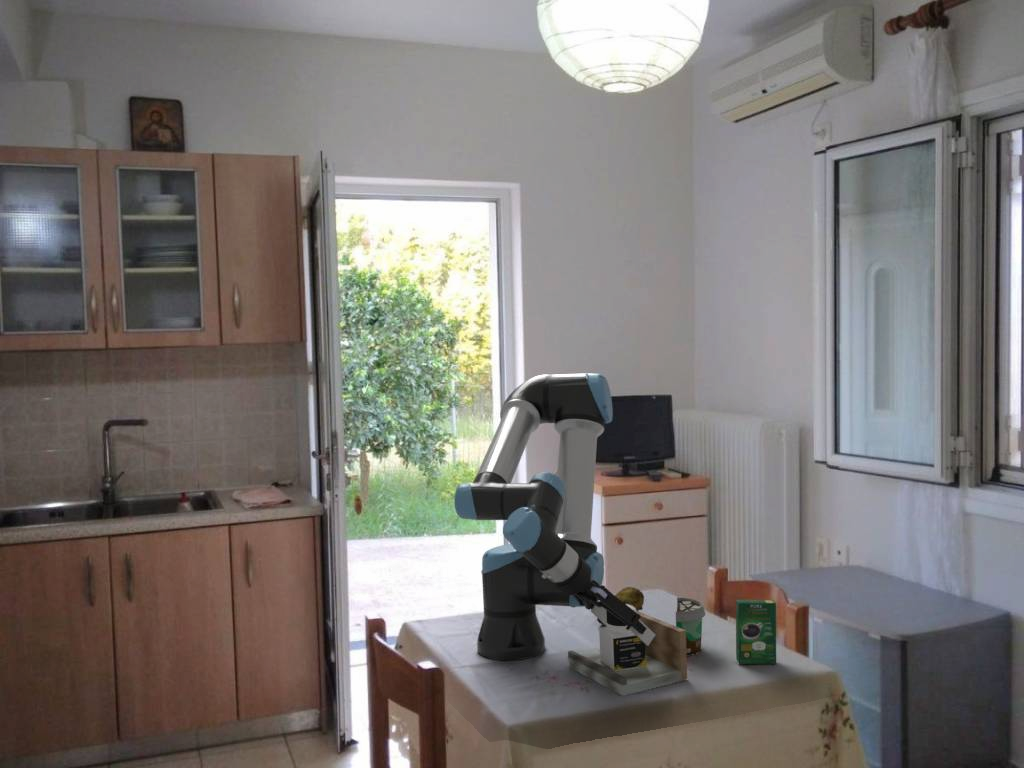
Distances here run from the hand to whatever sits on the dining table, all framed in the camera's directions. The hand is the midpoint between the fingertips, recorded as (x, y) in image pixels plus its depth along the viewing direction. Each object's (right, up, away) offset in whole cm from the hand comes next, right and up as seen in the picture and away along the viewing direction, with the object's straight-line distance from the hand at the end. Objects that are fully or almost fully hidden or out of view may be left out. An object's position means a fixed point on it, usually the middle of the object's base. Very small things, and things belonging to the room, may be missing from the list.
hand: (632, 631), depth 192 cm
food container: (+15, -7, +13) cm, 21 cm away
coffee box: (+26, -7, +3) cm, 27 cm away
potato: (+2, -7, +35) cm, 36 cm away
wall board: (-2, -8, -1) cm, 9 cm away
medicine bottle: (-2, -7, -1) cm, 7 cm away
